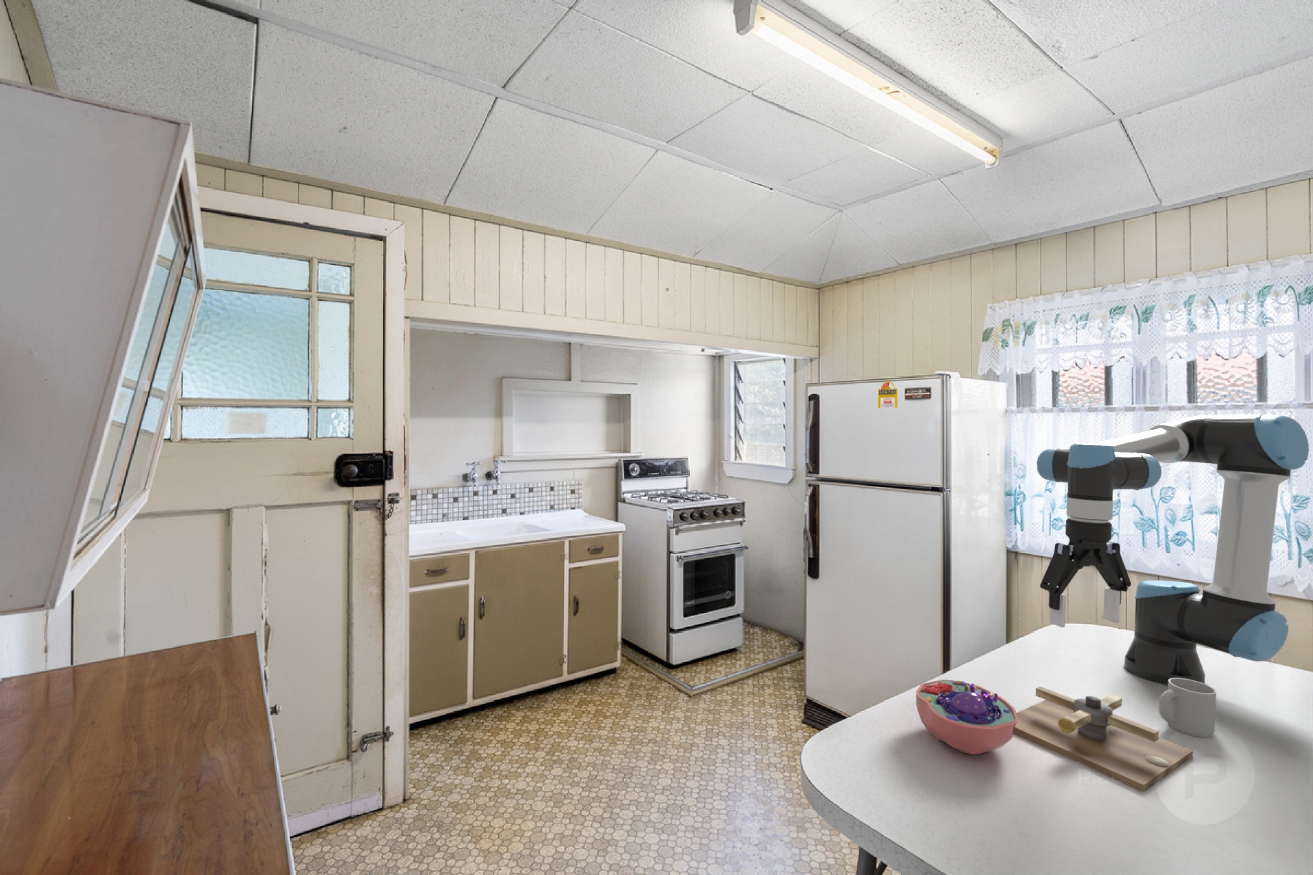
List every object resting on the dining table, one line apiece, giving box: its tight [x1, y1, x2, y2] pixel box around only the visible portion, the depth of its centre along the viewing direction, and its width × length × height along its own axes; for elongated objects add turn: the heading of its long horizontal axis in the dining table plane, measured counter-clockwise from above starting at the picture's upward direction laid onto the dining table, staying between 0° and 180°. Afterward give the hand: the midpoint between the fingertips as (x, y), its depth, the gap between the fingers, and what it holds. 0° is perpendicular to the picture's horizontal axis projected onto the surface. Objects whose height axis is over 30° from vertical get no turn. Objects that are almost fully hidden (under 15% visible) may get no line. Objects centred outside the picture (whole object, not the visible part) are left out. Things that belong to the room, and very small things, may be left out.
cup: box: [1158, 678, 1217, 739], centre depth 119 cm, size 7×10×9 cm
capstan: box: [1035, 686, 1160, 742], centre depth 113 cm, size 22×20×4 cm
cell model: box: [915, 679, 1018, 755], centre depth 112 cm, size 17×20×11 cm
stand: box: [1013, 699, 1194, 792], centre depth 114 cm, size 21×24×4 cm
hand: (1084, 623), depth 119 cm, fingers open, 13 cm apart
